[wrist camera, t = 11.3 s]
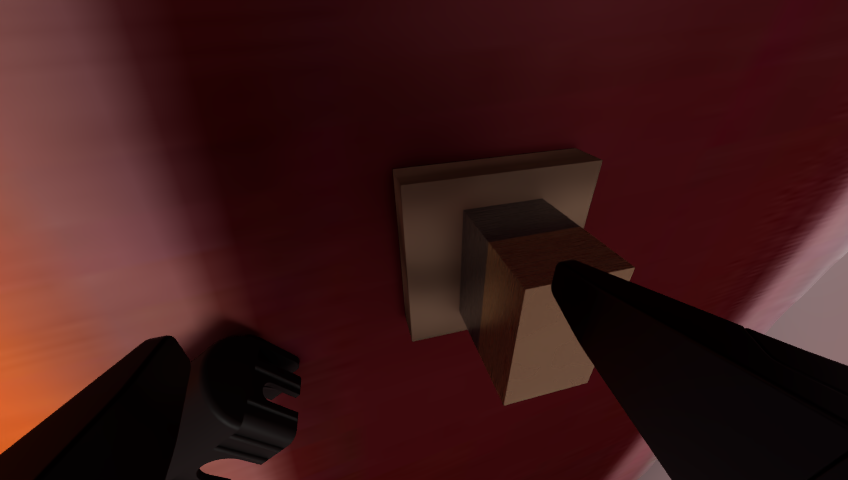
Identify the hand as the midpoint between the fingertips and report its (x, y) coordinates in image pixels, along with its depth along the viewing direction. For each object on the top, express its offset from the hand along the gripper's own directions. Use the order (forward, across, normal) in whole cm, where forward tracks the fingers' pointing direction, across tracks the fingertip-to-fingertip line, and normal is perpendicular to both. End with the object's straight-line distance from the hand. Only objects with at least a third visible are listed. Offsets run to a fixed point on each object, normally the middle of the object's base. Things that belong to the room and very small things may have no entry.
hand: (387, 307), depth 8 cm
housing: (+10, -8, +7) cm, 14 cm away
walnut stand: (+12, -8, +7) cm, 16 cm away
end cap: (+12, +12, +15) cm, 23 cm away
